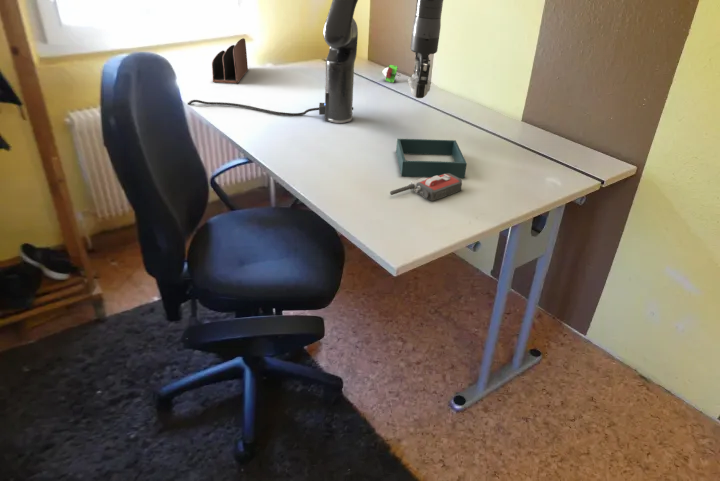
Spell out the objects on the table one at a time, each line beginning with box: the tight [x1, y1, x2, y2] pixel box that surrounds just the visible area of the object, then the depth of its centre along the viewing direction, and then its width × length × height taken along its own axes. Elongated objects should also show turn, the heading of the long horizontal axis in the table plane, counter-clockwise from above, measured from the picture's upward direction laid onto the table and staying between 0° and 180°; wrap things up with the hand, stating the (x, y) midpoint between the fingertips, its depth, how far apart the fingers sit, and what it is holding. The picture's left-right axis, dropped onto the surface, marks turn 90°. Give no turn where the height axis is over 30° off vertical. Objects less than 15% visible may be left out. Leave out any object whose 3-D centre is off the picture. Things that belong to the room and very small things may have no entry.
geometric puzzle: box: [381, 64, 401, 84], centre depth 227 cm, size 7×7×8 cm
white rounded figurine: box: [407, 73, 431, 99], centre depth 158 cm, size 6×7×7 cm
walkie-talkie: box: [389, 173, 463, 202], centre depth 142 cm, size 9×4×20 cm
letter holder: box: [211, 37, 249, 85], centre depth 220 cm, size 10×20×14 cm, turn 178°
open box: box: [395, 138, 468, 179], centre depth 157 cm, size 18×17×4 cm
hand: (418, 93), depth 159 cm, fingers closed on white rounded figurine, 6 cm apart
